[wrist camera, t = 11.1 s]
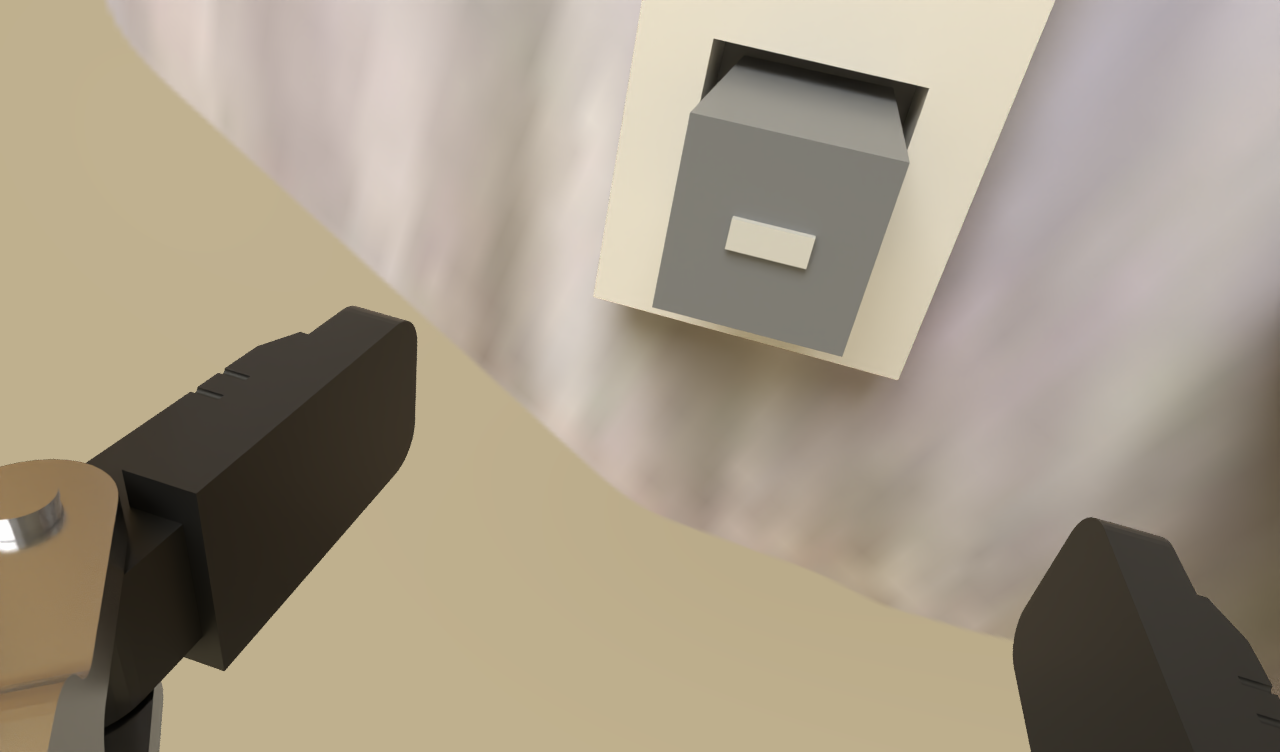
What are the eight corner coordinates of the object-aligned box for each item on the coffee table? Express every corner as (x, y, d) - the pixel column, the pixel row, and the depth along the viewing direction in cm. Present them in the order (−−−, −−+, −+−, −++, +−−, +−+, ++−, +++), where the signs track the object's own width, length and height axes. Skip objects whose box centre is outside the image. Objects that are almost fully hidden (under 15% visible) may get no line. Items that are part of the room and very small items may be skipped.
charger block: (893, 87, 23) (910, 164, 15) (847, 230, 26) (841, 360, 18) (744, 55, 24) (688, 113, 16) (712, 198, 26) (650, 310, 18)
